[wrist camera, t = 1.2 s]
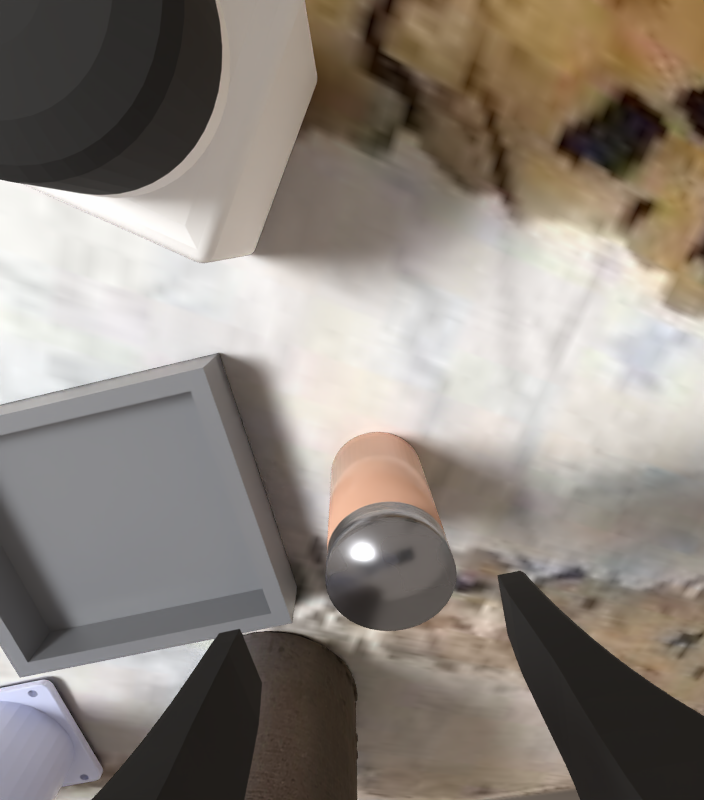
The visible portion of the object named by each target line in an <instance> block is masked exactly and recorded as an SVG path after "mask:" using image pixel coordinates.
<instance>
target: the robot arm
mask: <svg viewBox="0 0 704 800" xmlns="http://www.w3.org/2000/svg"><path fill="white" fill-rule="evenodd" d="M498 581H499V587H500V592H501V598H502V604H503V610H504V616H505V621H506V627H507V633H508V636H509V639H510V642H511V645H512V647H513V650H514V653H515V656H516V659H517V661H518V664H519V667H520V669H521V672H522V674H523V677H524V679H525V681H526V683H527V685H528V687H529V689H530V691H531V693H532V695H533V698H534V700H535V702H536V704H537V706H538V708H539V710H540V712H541V714H542V716H543V718H544V721H545V723H546V725H547V727H548V729H549V731H550V733H551V735H552V737H553V739H554V741H555V743H556V745H557V748H558V750H559V752H560V754H561V756H562V758H563V760H564V762H565V764H566V766H567V769H568V771H569V773H570V776H571V778H572V780H573V782H574V785H575V787H576V790H577V792H578V795H579V797H580V800H704V716H703V715H701V714H700V713H698V712H696V711H695V710H693V709H691V708H690V707H688V706H686V705H685V704H683V703H681V702H680V701H678V700H676V699H675V698H673V697H672V696H670V695H669V694H667V693H666V692H664V691H663V690H661V689H660V688H658V687H657V686H655V685H654V684H652V683H651V682H649V681H648V680H646V679H645V678H644V677H642V676H641V675H639V674H638V673H636V672H635V671H634V670H632V669H631V668H630V667H628V666H627V665H626V664H624V663H623V662H622V661H620V660H619V659H618V658H616V657H615V656H614V655H612V654H611V653H610V652H609V651H607V650H606V649H605V648H604V647H602V646H601V645H600V644H599V643H597V642H596V641H595V640H594V639H593V638H591V637H590V636H589V635H588V634H587V633H586V632H584V631H583V630H582V629H581V628H580V627H579V626H578V625H576V624H575V623H574V622H573V621H572V620H571V619H570V618H569V617H568V616H566V615H565V614H564V613H563V612H562V611H561V610H560V609H559V608H558V607H557V606H556V605H555V604H554V603H553V602H552V601H551V600H550V599H549V598H548V597H546V596H545V595H544V594H543V592H542V591H541V590H540V589H539V588H538V587H537V586H536V585H535V584H534V583H533V582H532V581H531V580H530V579H529V578H528V577H527V575H526V574H525V573H523V572H521V571H517V572H512V573H507V574H502V575H498ZM261 691H262V681H261V679H260V677H259V674H258V672H257V669H256V667H255V664H254V662H253V659H252V657H251V654H250V652H249V650H248V647H247V645H246V642H245V640H244V637H243V635H242V632H241V630H240V629H236V630H232V631H227V632H222V633H219V634H218V635H217V637H216V638H215V640H214V641H213V643H212V644H211V646H210V647H209V649H208V650H207V651H206V653H205V654H204V656H203V657H202V659H201V660H200V662H199V663H198V665H197V666H196V668H195V669H194V671H193V672H192V674H191V675H190V677H189V678H188V679H187V681H186V682H185V684H184V685H183V687H182V688H181V690H180V691H179V692H178V694H177V695H176V697H175V698H174V700H173V701H172V702H171V704H170V705H169V707H168V708H167V709H166V711H165V712H164V713H163V715H162V716H161V717H160V719H159V720H158V721H157V722H156V724H155V725H154V726H153V728H152V729H151V730H150V732H149V733H148V734H147V736H146V737H145V738H144V740H143V741H142V742H141V744H140V745H139V746H138V747H137V749H136V750H135V751H134V752H133V753H132V755H131V756H130V757H129V758H128V759H127V761H126V762H125V763H124V764H123V765H122V766H121V768H120V769H119V770H118V771H117V772H116V773H115V775H114V776H113V777H112V778H111V779H110V780H109V781H108V783H107V784H106V785H105V786H104V787H103V788H102V789H101V790H100V791H99V792H98V793H97V794H96V795H95V797H94V798H93V799H92V800H244V799H245V794H246V789H247V784H248V779H249V774H250V769H251V764H252V758H253V753H254V748H255V742H256V737H257V732H258V726H259V717H260V706H261ZM102 773H103V768H102V766H101V765H100V763H99V761H98V760H97V758H96V756H95V754H94V753H93V751H92V749H91V748H90V746H89V744H88V743H87V741H86V739H85V737H84V736H83V734H82V732H81V731H80V729H79V727H78V726H77V724H76V722H75V721H74V719H73V717H72V715H71V714H70V712H69V710H68V709H67V707H66V705H65V704H64V702H63V700H62V699H61V697H60V695H59V693H58V692H57V690H56V688H55V687H54V685H53V684H52V682H50V681H48V680H38V681H33V682H28V683H23V684H18V685H13V686H8V687H3V688H0V800H54V799H55V797H56V795H57V793H58V792H59V790H60V788H61V787H64V786H70V785H75V784H80V783H86V782H91V781H96V780H98V779H100V777H101V775H102Z"/></svg>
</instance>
